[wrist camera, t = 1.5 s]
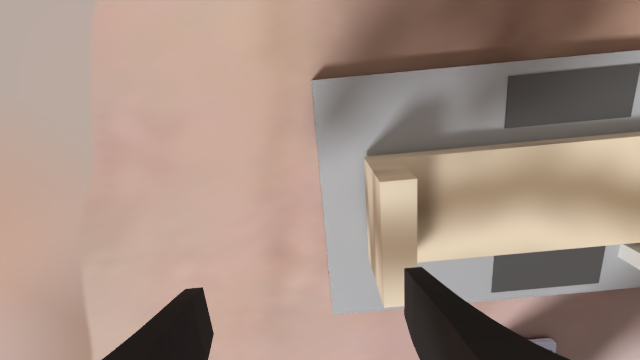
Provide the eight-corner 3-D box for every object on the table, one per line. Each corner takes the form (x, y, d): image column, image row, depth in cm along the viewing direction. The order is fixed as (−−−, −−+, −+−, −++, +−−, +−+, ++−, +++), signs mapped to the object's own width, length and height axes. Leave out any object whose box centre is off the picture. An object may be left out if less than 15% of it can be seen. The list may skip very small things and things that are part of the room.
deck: (818, 259, 23) (847, 269, 22) (331, 303, 23) (332, 315, 22) (916, 24, 19) (959, 20, 17) (311, 80, 19) (311, 80, 17)
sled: (726, 225, 20) (840, 266, 16) (368, 257, 20) (384, 307, 16) (759, 120, 18) (898, 134, 14) (363, 156, 18) (379, 182, 14)
